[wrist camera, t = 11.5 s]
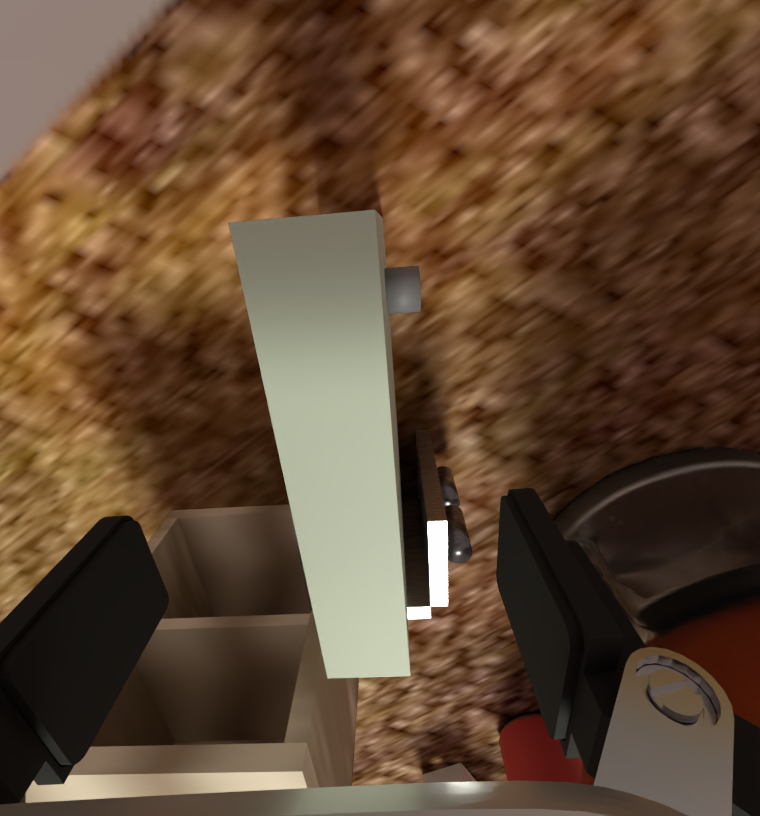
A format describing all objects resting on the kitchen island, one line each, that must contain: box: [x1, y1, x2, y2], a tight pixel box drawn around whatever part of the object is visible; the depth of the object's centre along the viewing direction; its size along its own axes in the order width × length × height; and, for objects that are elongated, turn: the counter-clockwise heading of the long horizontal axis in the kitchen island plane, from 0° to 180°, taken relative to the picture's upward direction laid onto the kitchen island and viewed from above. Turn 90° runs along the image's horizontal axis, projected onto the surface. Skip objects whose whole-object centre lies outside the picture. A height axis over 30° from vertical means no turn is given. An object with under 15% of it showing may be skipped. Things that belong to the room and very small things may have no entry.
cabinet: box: [26, 504, 359, 803], centre depth 22 cm, size 12×12×14 cm
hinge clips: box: [293, 429, 472, 619], centre depth 21 cm, size 8×6×8 cm
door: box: [228, 210, 421, 678], centre depth 17 cm, size 15×4×12 cm, turn 5°
